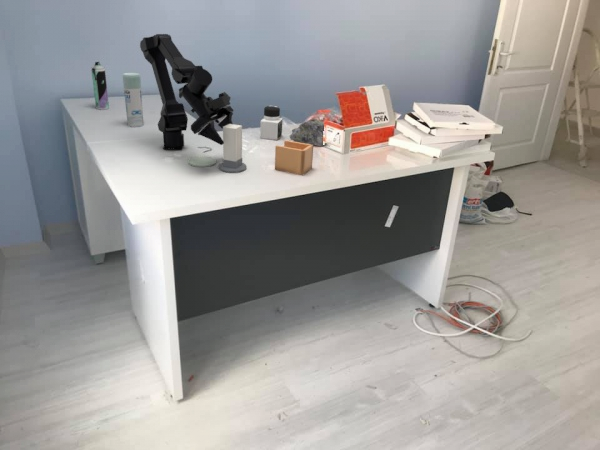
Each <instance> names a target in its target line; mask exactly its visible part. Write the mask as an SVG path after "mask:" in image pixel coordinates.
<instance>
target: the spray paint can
mask: <svg viewBox="0 0 600 450" xmlns="http://www.w3.org/2000/svg"><path fill="white" fill-rule="evenodd" d="M122 80H123V81H122V83H123V91H124V102H125V112H126V122H127V126H128V127H130V128H131V127H132V128H140V127H143V126H144V123H145V122H144V107H143V95H142V82H141V74H140V73H137V72H125V73H122Z"/></svg>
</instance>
